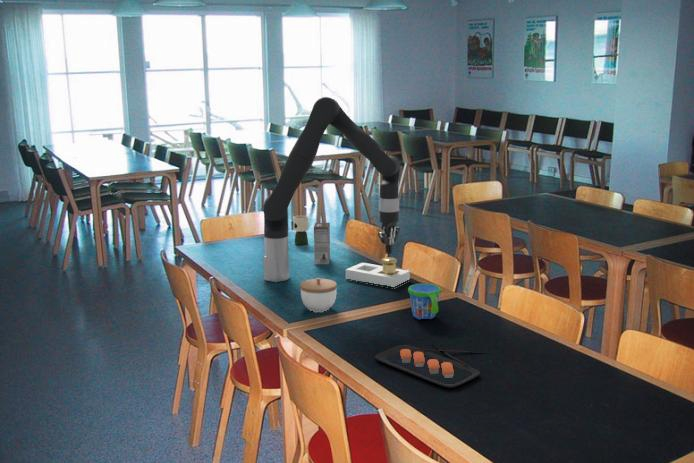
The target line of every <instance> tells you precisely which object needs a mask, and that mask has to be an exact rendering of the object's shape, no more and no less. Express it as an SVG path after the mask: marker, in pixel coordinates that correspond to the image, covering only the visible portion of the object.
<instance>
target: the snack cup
mask: <svg viewBox="0 0 694 463" xmlns="http://www.w3.org/2000/svg"><path fill="white" fill-rule="evenodd" d="M407 292H408V293H409V297H410V306H411V313H412V317H414V318H415V319H417V320H421V319H430V320H432V319H434V318H435V317H436V316H437V314H438V313H439V298H440V296H439V295H440V294H441V292H442V289H441V287H440V286H439V285H436V284H432V283H415V284H412V285H410V286H408V289H407Z"/></svg>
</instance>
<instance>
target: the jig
mask: <svg viewBox="0 0 694 463" xmlns="http://www.w3.org/2000/svg"><path fill="white" fill-rule="evenodd" d="M347 279H351V280H350V281H352V280H356V281H355V282H357V281H362V282H369V283H374V284H380V285H387V286H391V287H395V286H397V285H399V284H401V283H403V282H405V281H407V280H409V279H410V280H411V271H410V270H408V269H401V268H396V274H394V275H386V274H383V265H378V264H372V263H368V262H360V263H358V264H356V265H353V266H350V267H348V268H346V269H345V280H347ZM362 282H361V283H362Z"/></svg>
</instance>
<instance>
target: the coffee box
mask: <svg viewBox="0 0 694 463" xmlns="http://www.w3.org/2000/svg"><path fill="white" fill-rule="evenodd" d="M330 224H331V223H330V222H315V223H314V226H313V245H314V246H313V247H314V248H313V249H314V250H313V254H314V265H329V264H330V261H331V241H330V240H331V236H330V235H331V234H330V230H331V229H330V228H331V226H330Z"/></svg>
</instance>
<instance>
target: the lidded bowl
mask: <svg viewBox="0 0 694 463" xmlns="http://www.w3.org/2000/svg"><path fill="white" fill-rule="evenodd" d="M337 287H338V284H337V282H336V281H334V280H332V279H328V278H320V277H317V278H311V279H307V280H304V281H302V282H300V284H299V288H300V298H301V301H302V303H303V305H304V306H305V307H306V308H307V309H308V311H309V310H310V312H311V311H313V312H312V313H318V312H319V313H325V312H324V311H326V312H328V311H329V310H330V308H332V306H333V305H334V304H335V302H336V299H337V292H338V289H337ZM327 310H328V311H327Z"/></svg>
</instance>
